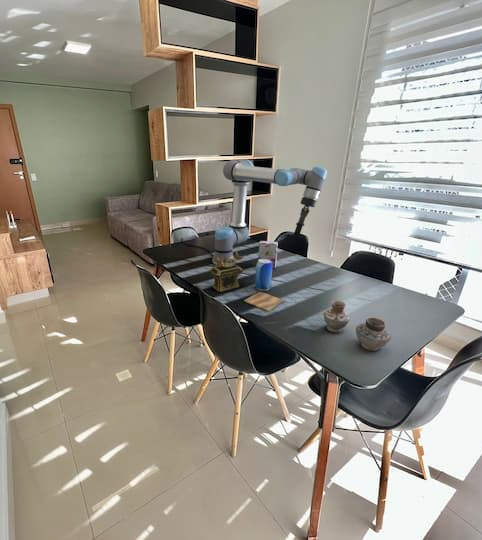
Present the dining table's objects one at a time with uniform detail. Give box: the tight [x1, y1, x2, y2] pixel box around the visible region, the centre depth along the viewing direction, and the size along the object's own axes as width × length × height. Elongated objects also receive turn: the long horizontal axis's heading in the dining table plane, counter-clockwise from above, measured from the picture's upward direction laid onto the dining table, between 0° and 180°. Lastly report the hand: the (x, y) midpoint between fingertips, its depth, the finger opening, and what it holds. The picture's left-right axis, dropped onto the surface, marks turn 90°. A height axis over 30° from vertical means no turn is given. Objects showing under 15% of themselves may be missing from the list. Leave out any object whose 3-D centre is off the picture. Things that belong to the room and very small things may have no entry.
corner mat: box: [243, 291, 285, 312], centre depth 142 cm, size 14×14×1 cm
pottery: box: [323, 300, 392, 351], centre depth 111 cm, size 11×25×12 cm, turn 36°
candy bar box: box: [257, 240, 279, 269], centre depth 183 cm, size 11×5×16 cm, turn 68°
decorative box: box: [208, 250, 246, 292], centre depth 156 cm, size 20×10×20 cm, turn 117°
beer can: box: [254, 259, 273, 292], centre depth 153 cm, size 8×8×16 cm
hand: (295, 237), depth 157 cm, fingers open, 13 cm apart
